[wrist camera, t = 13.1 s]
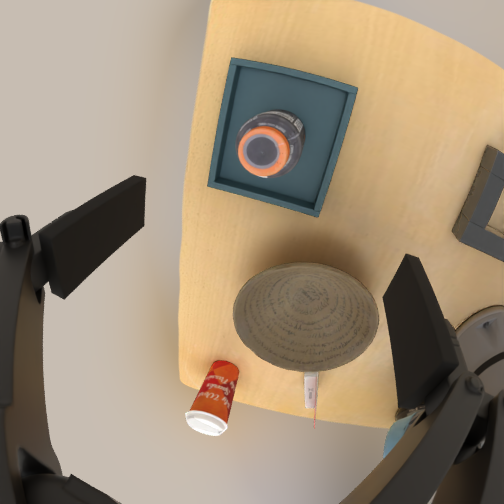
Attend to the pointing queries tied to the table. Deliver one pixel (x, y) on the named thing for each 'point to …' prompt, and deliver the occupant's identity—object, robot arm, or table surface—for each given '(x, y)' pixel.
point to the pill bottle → (270, 143)
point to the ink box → (311, 390)
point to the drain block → (483, 207)
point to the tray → (299, 103)
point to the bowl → (305, 316)
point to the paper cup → (214, 399)
